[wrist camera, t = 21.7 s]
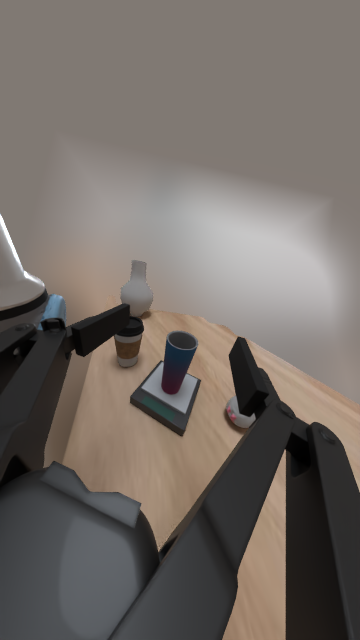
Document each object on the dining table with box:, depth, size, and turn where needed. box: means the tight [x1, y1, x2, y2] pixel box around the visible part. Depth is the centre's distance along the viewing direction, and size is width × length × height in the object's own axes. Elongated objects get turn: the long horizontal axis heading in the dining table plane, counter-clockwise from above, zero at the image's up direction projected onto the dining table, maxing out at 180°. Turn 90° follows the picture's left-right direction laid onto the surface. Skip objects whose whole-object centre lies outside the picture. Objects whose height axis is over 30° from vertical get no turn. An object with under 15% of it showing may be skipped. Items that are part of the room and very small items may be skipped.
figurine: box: [226, 396, 256, 428], centre depth 31 cm, size 6×7×8 cm
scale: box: [130, 361, 201, 436], centre depth 34 cm, size 14×14×3 cm
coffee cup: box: [114, 316, 144, 367], centre depth 39 cm, size 8×8×15 cm
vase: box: [121, 260, 153, 317], centre depth 67 cm, size 17×16×28 cm
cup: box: [161, 331, 198, 395], centre depth 30 cm, size 7×7×15 cm
